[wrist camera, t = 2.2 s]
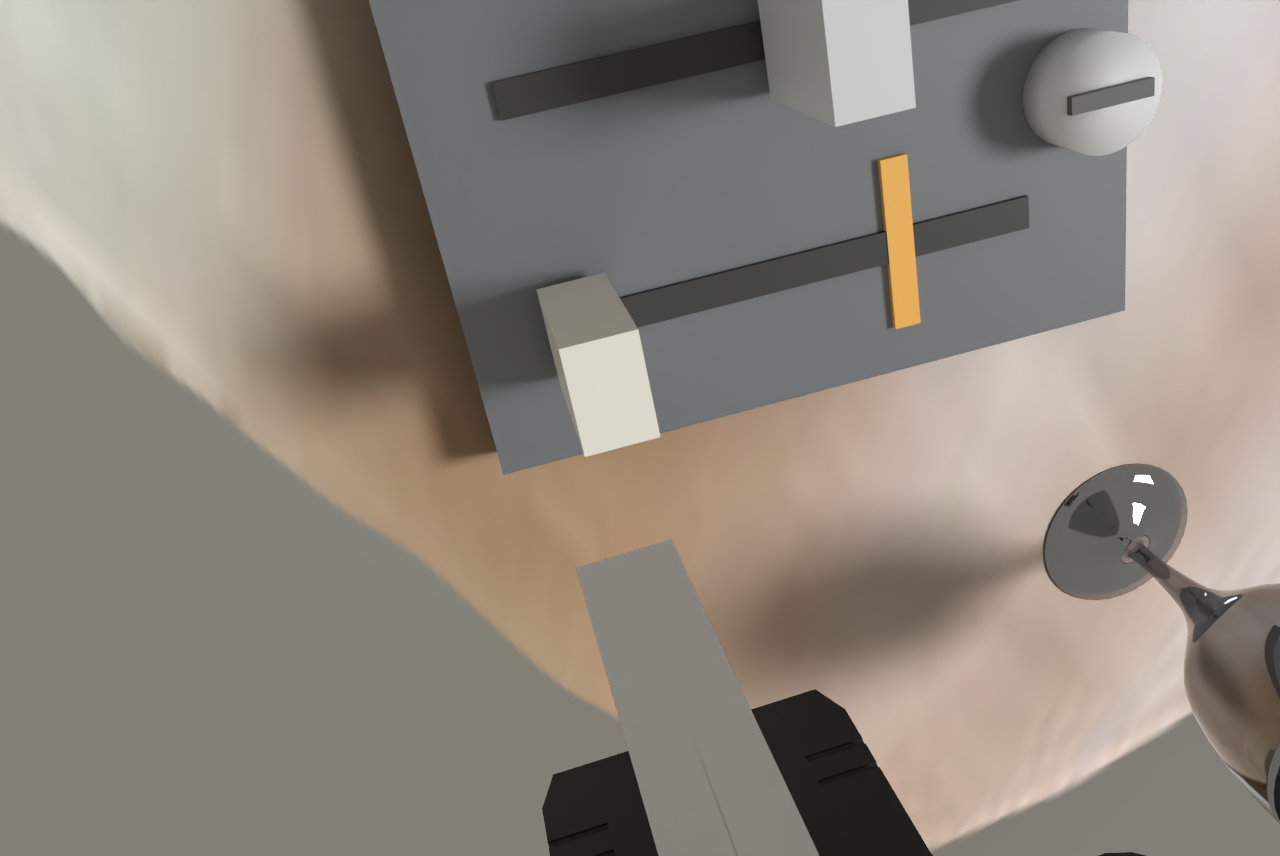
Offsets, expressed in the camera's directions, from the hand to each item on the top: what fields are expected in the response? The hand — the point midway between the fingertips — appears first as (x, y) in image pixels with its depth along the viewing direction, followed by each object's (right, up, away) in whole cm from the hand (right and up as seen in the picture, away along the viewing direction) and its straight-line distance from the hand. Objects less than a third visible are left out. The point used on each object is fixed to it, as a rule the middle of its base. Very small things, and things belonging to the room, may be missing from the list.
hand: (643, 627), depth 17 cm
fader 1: (-2, +6, +21) cm, 22 cm away
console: (+5, +13, +22) cm, 26 cm away
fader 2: (+5, +16, +18) cm, 25 cm away
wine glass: (+22, -2, +33) cm, 39 cm away
